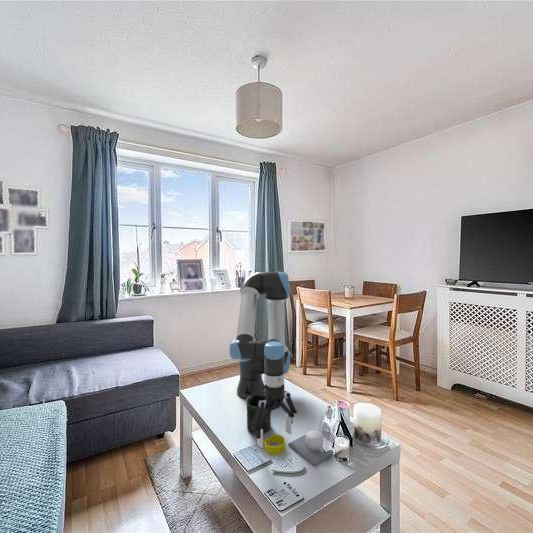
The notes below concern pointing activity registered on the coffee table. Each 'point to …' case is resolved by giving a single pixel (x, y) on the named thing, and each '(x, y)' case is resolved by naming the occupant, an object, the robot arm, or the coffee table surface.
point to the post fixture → (311, 447)
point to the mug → (251, 409)
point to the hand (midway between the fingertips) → (274, 439)
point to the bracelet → (276, 449)
